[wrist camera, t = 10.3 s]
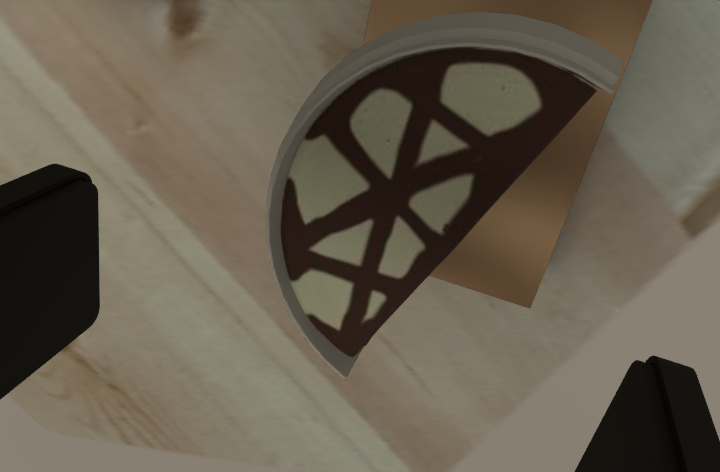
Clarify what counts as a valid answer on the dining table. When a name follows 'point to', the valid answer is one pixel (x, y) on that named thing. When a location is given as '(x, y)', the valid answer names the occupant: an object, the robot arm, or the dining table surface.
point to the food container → (413, 161)
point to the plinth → (552, 166)
